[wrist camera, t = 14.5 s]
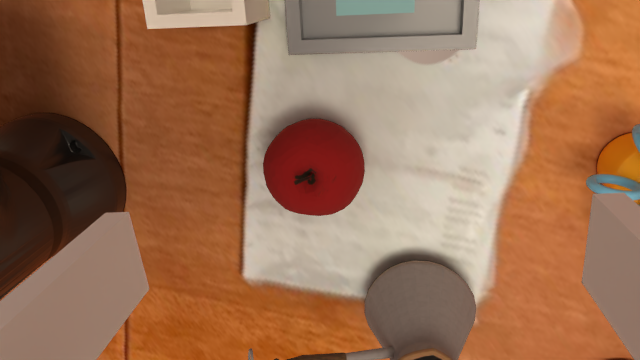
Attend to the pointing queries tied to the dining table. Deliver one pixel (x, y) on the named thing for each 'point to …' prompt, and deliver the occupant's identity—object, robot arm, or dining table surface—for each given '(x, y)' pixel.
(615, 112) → the dining table surface
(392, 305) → the coffee pot
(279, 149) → the apple
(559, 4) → the dining table surface
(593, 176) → the yellow ringed vase
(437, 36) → the tray
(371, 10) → the peg
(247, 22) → the white open box
